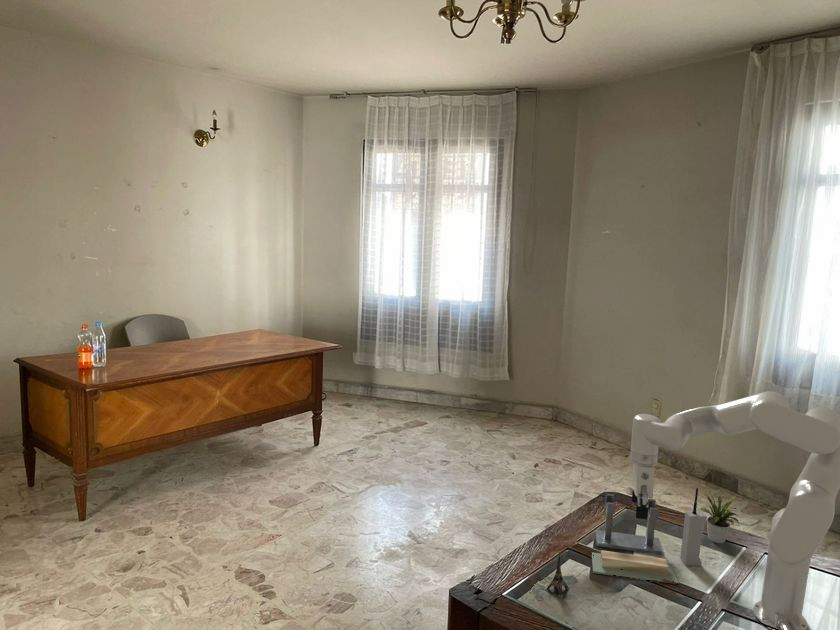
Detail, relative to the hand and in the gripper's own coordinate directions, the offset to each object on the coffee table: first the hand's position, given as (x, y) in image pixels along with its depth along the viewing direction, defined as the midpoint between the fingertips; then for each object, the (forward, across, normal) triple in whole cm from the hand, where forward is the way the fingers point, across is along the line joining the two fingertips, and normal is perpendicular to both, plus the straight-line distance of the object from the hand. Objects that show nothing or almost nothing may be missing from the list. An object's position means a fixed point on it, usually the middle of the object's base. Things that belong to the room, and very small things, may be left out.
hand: (639, 510), depth 179 cm
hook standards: (+20, +14, 0) cm, 24 cm away
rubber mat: (+20, 0, 0) cm, 20 cm away
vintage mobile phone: (+20, +8, -18) cm, 28 cm away
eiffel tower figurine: (+20, -15, +23) cm, 34 cm away
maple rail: (+19, 0, 0) cm, 19 cm away
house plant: (+20, +24, -28) cm, 42 cm away
